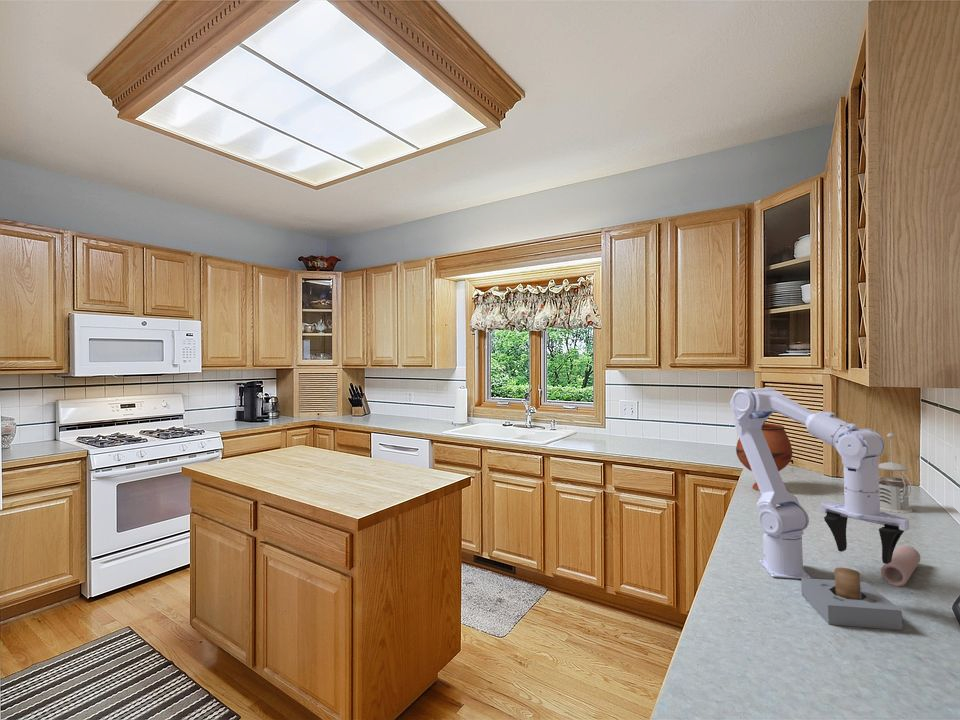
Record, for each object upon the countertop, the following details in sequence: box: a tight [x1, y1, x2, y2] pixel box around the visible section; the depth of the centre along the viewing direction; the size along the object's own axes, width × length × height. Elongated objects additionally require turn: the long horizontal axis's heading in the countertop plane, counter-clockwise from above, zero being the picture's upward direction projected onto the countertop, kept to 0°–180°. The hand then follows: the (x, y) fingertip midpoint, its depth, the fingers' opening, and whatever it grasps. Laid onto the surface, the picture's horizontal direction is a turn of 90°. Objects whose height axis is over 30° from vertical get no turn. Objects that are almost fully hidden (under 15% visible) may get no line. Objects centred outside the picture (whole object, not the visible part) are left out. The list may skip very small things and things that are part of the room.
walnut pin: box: [834, 567, 861, 600], centre depth 97 cm, size 4×4×7 cm
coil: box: [880, 544, 921, 587], centre depth 113 cm, size 5×5×18 cm
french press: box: [879, 432, 913, 514], centre depth 161 cm, size 10×12×25 cm
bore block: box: [800, 578, 903, 631], centre depth 97 cm, size 12×12×4 cm
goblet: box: [735, 422, 793, 492], centre depth 190 cm, size 19×19×25 cm
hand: (863, 556), depth 99 cm, fingers open, 7 cm apart
